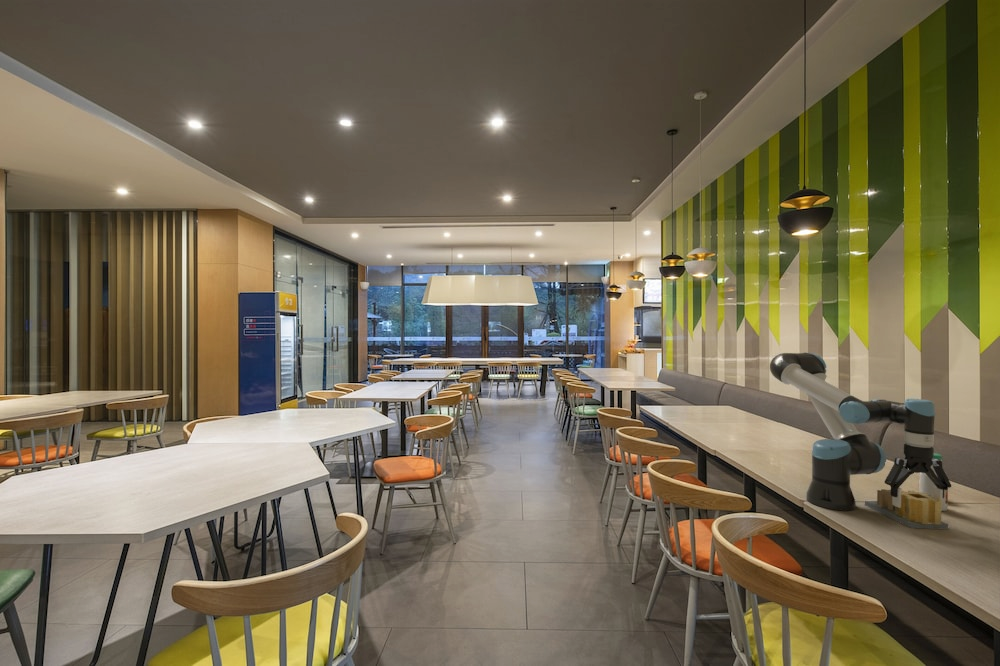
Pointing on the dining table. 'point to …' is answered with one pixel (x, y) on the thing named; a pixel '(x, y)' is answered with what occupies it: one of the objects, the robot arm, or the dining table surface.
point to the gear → (920, 507)
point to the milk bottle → (932, 485)
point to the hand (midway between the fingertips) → (917, 506)
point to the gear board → (888, 509)
